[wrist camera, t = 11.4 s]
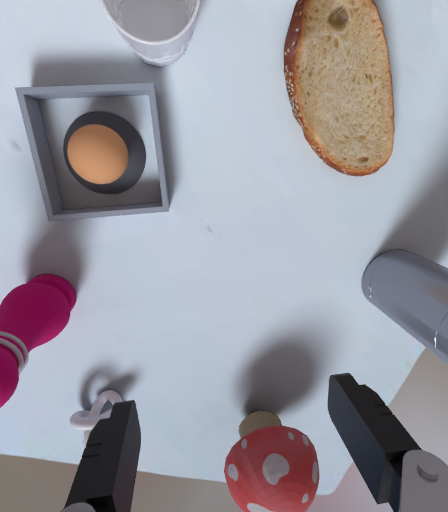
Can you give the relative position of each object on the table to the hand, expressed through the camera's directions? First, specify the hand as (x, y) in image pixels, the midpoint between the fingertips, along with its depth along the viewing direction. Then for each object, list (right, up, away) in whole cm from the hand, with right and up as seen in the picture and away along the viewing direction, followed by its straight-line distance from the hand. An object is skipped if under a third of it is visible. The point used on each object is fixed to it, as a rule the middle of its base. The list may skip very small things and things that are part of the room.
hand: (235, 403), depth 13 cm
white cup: (-7, +30, +20) cm, 37 cm away
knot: (-18, -17, +35) cm, 43 cm away
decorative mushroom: (+5, -21, +40) cm, 45 cm away
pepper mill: (-23, +1, +28) cm, 36 cm away
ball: (-14, +17, +20) cm, 30 cm away
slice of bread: (+14, +26, +25) cm, 39 cm away
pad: (-14, +18, +23) cm, 32 cm away
